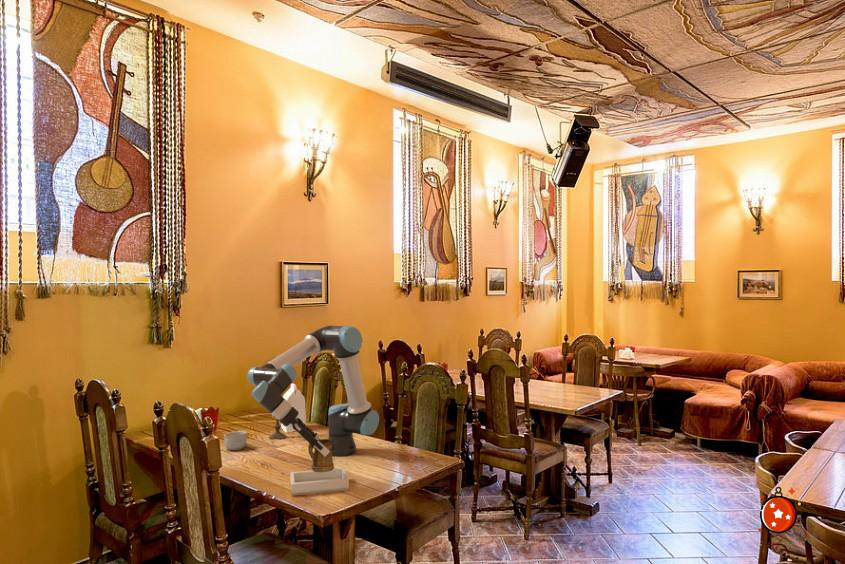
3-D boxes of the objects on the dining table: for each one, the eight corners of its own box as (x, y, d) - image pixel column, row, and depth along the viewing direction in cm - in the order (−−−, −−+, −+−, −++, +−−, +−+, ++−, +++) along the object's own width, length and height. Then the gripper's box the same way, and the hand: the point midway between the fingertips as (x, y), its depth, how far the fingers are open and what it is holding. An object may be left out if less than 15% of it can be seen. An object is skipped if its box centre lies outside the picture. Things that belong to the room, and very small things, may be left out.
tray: (344, 478, 233) (344, 467, 233) (348, 490, 219) (348, 478, 219) (290, 483, 228) (290, 472, 228) (291, 496, 213) (291, 484, 213)
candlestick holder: (285, 434, 308) (284, 380, 309) (287, 438, 300) (287, 382, 300) (268, 436, 305) (267, 381, 306) (269, 440, 296) (269, 384, 297)
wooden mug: (297, 470, 221) (297, 425, 222) (327, 464, 230) (327, 420, 230) (307, 476, 214) (308, 429, 215) (338, 469, 223) (338, 424, 223)
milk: (281, 428, 323) (281, 383, 324) (300, 426, 329) (300, 382, 330) (286, 432, 313) (286, 386, 314) (306, 430, 318) (306, 384, 319)
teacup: (239, 452, 274) (239, 436, 274) (219, 451, 276) (219, 435, 276) (253, 445, 287) (253, 429, 288) (234, 444, 290) (234, 428, 290)
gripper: (278, 415, 229) (318, 451, 233) (278, 425, 210) (321, 465, 213) (291, 401, 231) (330, 438, 234) (292, 410, 211) (335, 450, 215)
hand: (326, 451), depth 224 cm, fingers closed on wooden mug, 7 cm apart
